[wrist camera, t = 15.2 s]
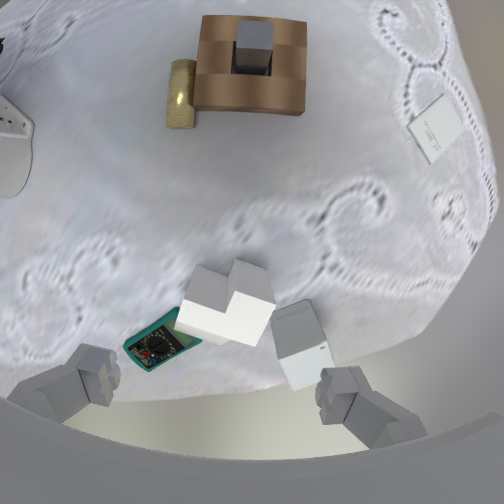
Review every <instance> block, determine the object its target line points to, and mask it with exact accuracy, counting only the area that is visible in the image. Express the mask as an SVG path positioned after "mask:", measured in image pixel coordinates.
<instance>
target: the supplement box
mask: <svg viewBox="0 0 504 504" xmlns="http://www.w3.org/2000/svg"><path fill="white" fill-rule="evenodd" d="M270 323H271V327H272V332H273V337H274V342H275V347H276V351H277V356H278V361H279V363H280V366H281V368H282V370H283V372H284V374H285V376H286V378H287V380H288V382H289V384H290V386H291V388H292V390H293V391H296V390H299V389H302V388H305V387H307V386H310V385H313V384H315V383H318V382H320V381H321V377H320V374H321V371H322V369H323V368H332V367H336V365H335V362H334V358H333V355H332V352H331V349H330V346H329V342H328V340H327V337H326V335H325V333H324V331H323V329H322V327H321V325H320V323H319V321H318V319H317V316H316V314H315V312H314V310H313V308H312V306H311V304H310V302H309V300H308V299H307V300H304V301H302V302H299V303H297V304H294V305H291V306H289V307H286V308H283V309H281V310H278V311H275V312H273V313H272V315H271V317H270Z"/></svg>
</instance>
